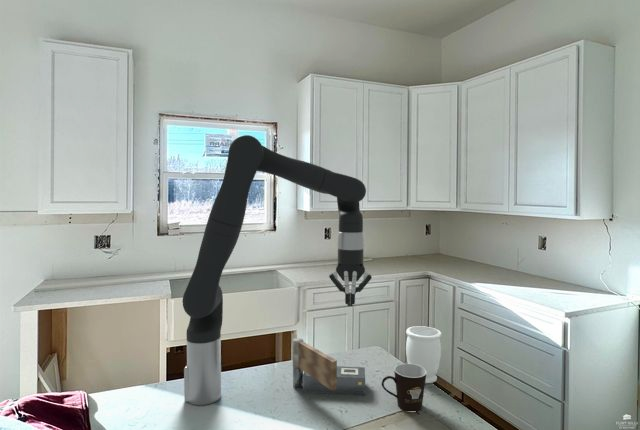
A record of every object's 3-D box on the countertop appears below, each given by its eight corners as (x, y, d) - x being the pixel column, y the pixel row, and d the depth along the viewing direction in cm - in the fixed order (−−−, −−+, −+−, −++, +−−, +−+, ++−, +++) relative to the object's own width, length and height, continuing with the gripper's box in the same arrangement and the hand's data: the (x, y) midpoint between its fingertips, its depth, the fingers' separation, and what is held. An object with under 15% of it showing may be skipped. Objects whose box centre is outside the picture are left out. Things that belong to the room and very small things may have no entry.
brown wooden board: (290, 364, 118) (290, 339, 117) (299, 362, 120) (299, 337, 119) (329, 391, 102) (329, 362, 101) (339, 388, 104) (339, 359, 103)
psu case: (302, 392, 114) (302, 374, 113) (305, 380, 121) (306, 364, 121) (365, 395, 112) (365, 377, 112) (364, 383, 119) (364, 366, 119)
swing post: (292, 388, 116) (292, 368, 116) (293, 383, 119) (293, 364, 119) (302, 388, 116) (302, 368, 116) (303, 383, 119) (303, 364, 119)
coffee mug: (426, 400, 110) (426, 365, 109) (425, 417, 101) (426, 379, 101) (384, 394, 113) (384, 360, 112) (380, 410, 105) (381, 373, 104)
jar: (405, 383, 120) (405, 335, 119) (406, 368, 130) (406, 324, 129) (441, 387, 117) (442, 338, 116) (439, 372, 127) (440, 327, 126)
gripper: (327, 248, 111) (326, 308, 112) (374, 249, 110) (373, 310, 111) (328, 245, 119) (328, 301, 119) (372, 245, 117) (372, 302, 118)
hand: (350, 305), depth 115 cm, fingers closed
